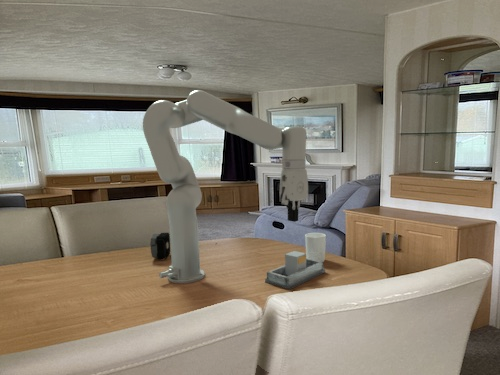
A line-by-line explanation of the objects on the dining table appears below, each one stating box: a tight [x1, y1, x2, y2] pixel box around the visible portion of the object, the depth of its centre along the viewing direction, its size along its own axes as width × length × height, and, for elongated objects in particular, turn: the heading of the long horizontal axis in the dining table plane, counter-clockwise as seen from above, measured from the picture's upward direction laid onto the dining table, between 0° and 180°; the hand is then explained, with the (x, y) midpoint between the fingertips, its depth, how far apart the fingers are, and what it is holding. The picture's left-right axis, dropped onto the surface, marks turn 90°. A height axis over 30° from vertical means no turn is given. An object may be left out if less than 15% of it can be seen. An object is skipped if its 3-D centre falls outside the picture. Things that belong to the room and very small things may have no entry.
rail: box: [264, 257, 326, 290], centre depth 122 cm, size 20×10×4 cm, turn 136°
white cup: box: [304, 232, 327, 263], centre depth 138 cm, size 8×8×10 cm
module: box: [284, 250, 307, 275], centre depth 121 cm, size 5×5×7 cm
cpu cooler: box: [149, 232, 171, 260], centre depth 148 cm, size 10×6×10 cm, turn 178°
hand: (292, 220), depth 120 cm, fingers closed
